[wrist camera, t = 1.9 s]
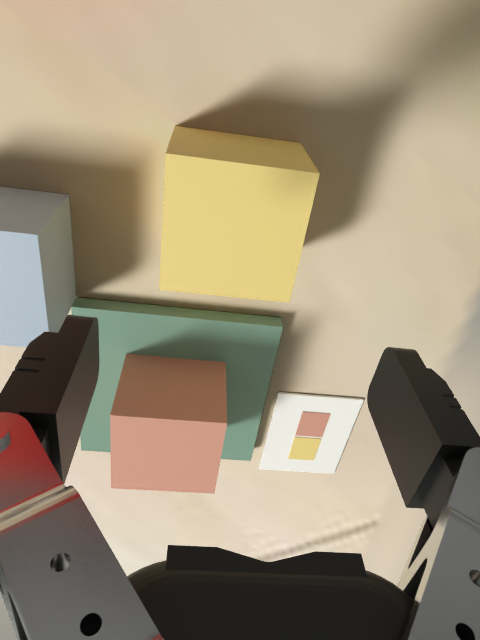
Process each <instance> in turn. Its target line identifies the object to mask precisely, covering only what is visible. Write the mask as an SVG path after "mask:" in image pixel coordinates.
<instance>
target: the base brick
mask: <svg viewBox="0 0 480 640" xmlns="http://www.w3.org/2000/svg"><path fill="white" fill-rule="evenodd" d="M226 427H227V395H226V362H217V361H205V360H194V359H182V358H170V357H159V356H147V355H135V354H126V356H125V360H124V364H123V367H122V371H121V375H120V379H119V383H118V387H117V391H116V394H115V398H114V402H113V406H112V410H111V414H110V440H111V488H119V489H138V490H157V491H176V492H196V493H214V492H215V487H216V481H217V476H218V470H219V465H220V460H221V454H222V449H223V444H224V438H225V433H226Z"/></svg>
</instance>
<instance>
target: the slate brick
mask: <svg viewBox="0 0 480 640" xmlns="http://www.w3.org/2000/svg"><path fill="white" fill-rule="evenodd" d="M75 298H76V285H75V270H74V256H73V242H72V227H71V213H70V199H69V194H60V193H52V192H43V191H35V190H26V189H18V188H10V187H1V186H0V345H7V346H19V347H27V346H28V344H29V343H30V342H31V341H33V340H34V339H35V338H37V337H38V336H39V335H41V334H42V333H43V332H55V333H58V332H59V330H60V328H61V326H62V324H63V322H64V320H65V318H66V316H67V315H68V313H69V310H70V308H71V306H72V304H73V302H74V300H75Z"/></svg>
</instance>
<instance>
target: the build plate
mask: <svg viewBox="0 0 480 640" xmlns="http://www.w3.org/2000/svg"><path fill="white" fill-rule="evenodd" d="M71 309H72V315H76V316H86V317H96V318H97V319H98V325H99V375H98V381H97V385H96V388H95V391H94V394H93V397H92V400H91V403H90V406H89V409H88V413H87V416H86V419H85V422H84V425H83V428H82V431H81V434H80V436H81V450H85V451H101V452H111V440H110V414H111V410H112V406H113V402H114V398H115V394H116V391H117V387H118V383H119V379H120V375H121V371H122V367H123V364H124V360H125V356H126V354H135V355H147V356H159V357H170V358H182V359H194V360H205V361H217V362H226V395H227V427H226V433H225V438H224V444H223V449H222V454H221V459H232V460H248V461H251V458H252V453H253V449H254V445H255V441H256V437H257V433H258V429H259V425H260V420H261V416H262V412H263V408H264V404H265V400H266V396H267V392H268V388H269V383H270V379H271V375H272V371H273V367H274V363H275V359H276V355H277V350H278V346H279V342H280V338H281V334H282V330H283V324H282V319H281V318H280V317H270V316H260V315H250V314H240V313H230V312H220V311H209V310H199V309H189V308H179V307H169V306H159V305H149V304H139V303H128V302H118V301H108V300H98V299H88V298H78V297H76V298H75V300H74V302H73V304H72V306H71Z"/></svg>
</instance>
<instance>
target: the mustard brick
mask: <svg viewBox="0 0 480 640" xmlns="http://www.w3.org/2000/svg"><path fill="white" fill-rule="evenodd" d="M319 175H320V173H319V171H318V170H317V168H316V166H315V165H314V163H313V162H312V160H311V158H310V157H309V155H308V154H307V152H306V150H305V149H304V147H303V146H302V144H301V143H297V142H290V141H282V140H275V139H268V138H261V137H253V136H246V135H239V134H232V133H224V132H217V131H210V130H203V129H195V128H188V127H181V126H175V128H174V131H173V133H172V136H171V139H170V142H169V145H168V148H167V151H166V156H165V177H164V198H163V219H162V240H161V261H160V282H159V290H166V291H177V292H187V293H197V294H207V295H218V296H228V297H238V298H249V299H259V300H269V301H280V302H290V298H291V294H292V290H293V286H294V281H295V277H296V273H297V269H298V264H299V260H300V256H301V252H302V247H303V243H304V239H305V235H306V230H307V226H308V222H309V218H310V213H311V209H312V205H313V201H314V197H315V192H316V188H317V184H318V180H319Z"/></svg>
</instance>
